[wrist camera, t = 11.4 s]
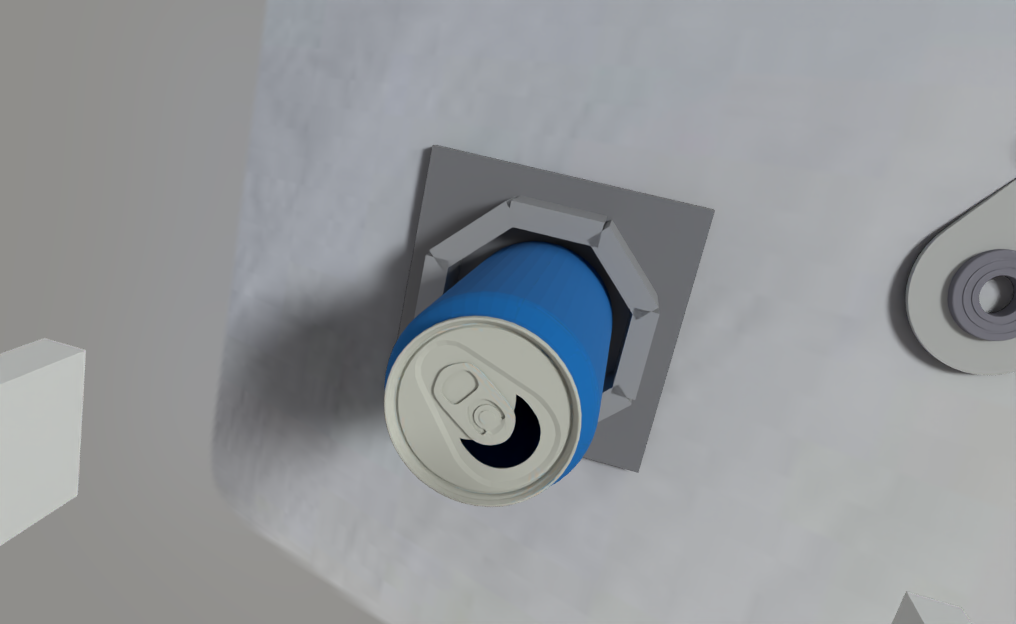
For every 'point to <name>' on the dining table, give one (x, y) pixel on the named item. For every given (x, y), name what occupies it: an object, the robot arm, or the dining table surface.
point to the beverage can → (502, 376)
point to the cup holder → (591, 234)
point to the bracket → (967, 289)
